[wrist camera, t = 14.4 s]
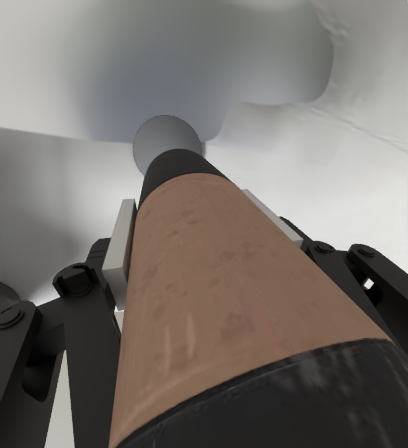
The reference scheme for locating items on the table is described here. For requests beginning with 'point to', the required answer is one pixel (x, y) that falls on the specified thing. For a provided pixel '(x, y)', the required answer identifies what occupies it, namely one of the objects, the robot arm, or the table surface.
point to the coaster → (163, 139)
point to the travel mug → (242, 331)
